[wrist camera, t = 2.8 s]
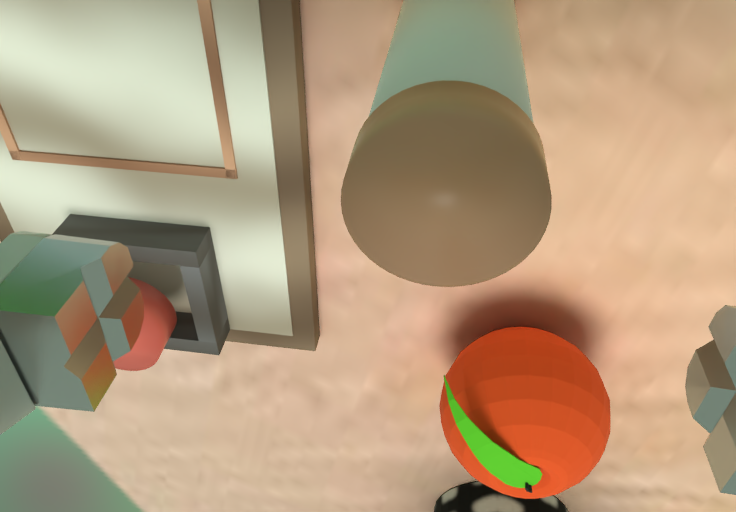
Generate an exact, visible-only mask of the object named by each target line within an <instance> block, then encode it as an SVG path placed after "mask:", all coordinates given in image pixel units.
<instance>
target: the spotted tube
mask: <svg viewBox="0 0 736 512" xmlns="http://www.w3.org/2000/svg"><path fill="white" fill-rule="evenodd" d="M434 512H568V511H567V509H566V507H565V506H564V505H563V504H562V503H561V502H560V501H559V500H558V499H557V498H555V497H554V496H549V497H545V498H537V499H524V498H517V497H513V496H509V495H506V494H502V493H500V492H498V491H496V490H494V489H492V488H490V487H488V486H486V485H484V484H482V483H481V482H475V483H469V484H465V485H461V486H458V487H456V488H453V489H451V490H449V491H447V492H446V493H445V494H443V495H442V496H441V497H440V498H439V499H438V500H437V502H436V505H435V508H434Z"/></svg>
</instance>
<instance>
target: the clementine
mask: <svg viewBox="0 0 736 512" xmlns="http://www.w3.org/2000/svg"><path fill="white" fill-rule="evenodd" d="M440 414H441V423H442V427H443V431H444V435H445V437H446V440H447V442H448V444H449V446H450V449H451V451H452V453H453V454H454V456H455V457H456V458H457V460H458V461H459V462H460V463H461V465H462V466H463V467H464V468H465V469H466V470H467V471H468V472H469V474H470V475H471V476H473V477H474V478H475V479H477V480H478V481H479V482H481V483H482V484H484V485H486V486H488V487H490V488H492V489H494V490H496V491H498V492H500V493H502V494H506V495H509V496H513V497H517V498H524V499H537V498H545V497H549V496H552V495H556V494H558V493H560V492H562V491H564V490H566V489H568V488H570V487H572V486H574V485H576V484H578V483H580V482H581V481H582V480H583V479H584V478H585V477H586V476H587V475H588V474H589V473H590V472H591V471H592V469H593V468H594V467H595V466H596V464H597V463H598V462H599V460H600V458H601V456H602V454H603V452H604V450H605V447H606V444H607V441H608V438H609V434H610V400H609V397H608V394H607V392H606V389H605V387H604V384H603V382H602V379H601V377H600V375H599V373H598V371H597V369H596V368H595V367H594V365H593V364H592V363H591V362H590V361H589V359H588V358H587V357H586V356H585V355H584V354H583V353H582V352H581V351H580V350H579V349H578V348H577V347H576V346H575V345H573V344H571V343H570V342H568V341H566V340H564V339H563V338H561V337H559V336H557V335H555V334H553V333H551V332H548V331H544V330H541V329H538V328H530V327H508V328H503V329H499V330H495V331H492V332H490V333H488V334H486V335H484V336H482V337H480V338H478V339H477V340H475V341H474V342H472V343H471V344H470V345H469V346H467V347H466V348H465V349H464V350H463V351H461V352H460V354H459V355H458V357H457V359H456V360H455V362H454V363H453V365H452V366H451V368H450V370H449V371H448V373H447V374H446V376H445V375H444V385H443V389H442V394H441V400H440Z"/></svg>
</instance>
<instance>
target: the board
mask: <svg viewBox="0 0 736 512" xmlns="http://www.w3.org/2000/svg"><path fill="white" fill-rule="evenodd" d="M19 231H28V232H36V233H45V234H51V235H54V234H57V235H65V236H73V237H80V238H88V239H96V240H104V241H112V242H119V243H121V244H123V245H125V246H126V247H128V250H129V253H130V256H131V259H132V262H133V265H134V266H133V267H132V269H131V271H130V272H129V274H128V275H127V277H131V278H135V279H138V280H141V281H143V282H145V283H147V284H149V285H151V286H153V287H154V288H156V289H157V290H159V291H160V292H161V293H163V294H164V295H165V296H166V297H167V298H168V300H169V301H170V302H171V304H172V305H173V307H174V309H175V311H176V315H177V323H176V326H175V328H174V330H173V332H172V334H171V336H170V338H169V340H168V341H167V343H166V345H165V347H164V349H172V350H180V351H189V352H197V353H206V354H214V355H219V354H220V352H221V350H222V347H223V345H224V343H225V341H231V342H240V343H249V344H257V345H266V346H275V347H284V348H292V349H301V350H310V351H316V347H317V343H318V340H319V336H320V333H319V317H318V300H317V284H316V267H315V251H314V234H313V218H312V201H311V185H310V168H309V152H308V135H307V119H306V102H305V86H304V69H303V53H302V36H301V20H300V3H299V0H0V241H1V242H2V241H3V240H4V239H5V238H6V237H8V236H9V235H10V234H12V233H16V232H19Z"/></svg>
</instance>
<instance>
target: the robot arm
mask: <svg viewBox="0 0 736 512" xmlns="http://www.w3.org/2000/svg"><path fill="white" fill-rule="evenodd" d="M133 266H134V265H133V262H132V259H131V256H130V253H129V250H128V247H126V246H125V245H123V244H121V243H119V242H112V241H104V240H96V239H88V238H80V237H73V236H65V235H57V234H54V235H51V234H45V233H36V232H28V231H19V232H16V233H12V234H10V235H9V236H8V237H6V238H5V239H4V240H3V241H2V242H1V243H0V435H1V434H2V433H3V432H5V431H6V430H7V429H9V428H10V427H11V426H13V425H14V424H16V423H17V422H18V421H20V420H21V419H22V418H24V417H25V416H26V415H28V414H29V413H31V412H32V411H33V410H35V406H44V407H54V408H64V409H73V410H83V411H93V412H94V411H95V409H96V408H97V406H98V404H99V403H100V401H101V399H102V398H103V396H104V395H105V393H106V391H107V390H108V388H109V386H110V385H111V383H112V381H113V380H114V378H115V376H116V375H117V374H116V370H115V365H114V361H115V360H116V359H118V358H120V357H121V356H123V355H125V354H126V353H128V352H130V351H131V350H132V348H133V346H134V344H135V342H136V341H137V339H138V337H139V335H140V331H141V327H142V323H143V319H144V301H143V297H142V293H141V290H140V288H139V287H138V286H137V285H136V284H135V283H134V282H133V281H131V280H130V279H129V278H128V277H127V275H128V274H129V272H130V271H131V269H132V267H133ZM709 329H710V331H711V334H712V336H713V338H714V340H713V341H711V342H709V343H707V344H706V345H704V346H702V347H700V348H699V349H697V350H696V351H695V353H694V355H693V357H692V359H691V361H690V364H689V366H688V369H687V377H686V385H685V388H686V395H687V402H688V405H689V408H690V411H691V414H692V417H693V418H694V419H695V420H696V421H697V422H698V423H699V424H700V425H701V426H702V427H703V428H705V429H706V430H707V431H708V432H709V433H710V435H709V436H708V438H707V440H706V442H705V444H704V446H703V448H704V450H705V453H706V456H707V458H708V461H709V464H710V467H711V469H712V472H713V475H714V477H715V480H716V483H717V486H718V488H719V491H720V492H721V493H727V494H734V495H736V306H728V305H725V306H724V307H723V308H721V309H720V310H719V311H718V312H717V313H716V314H715V316H714V318H713V319H712V321H711V323H710V325H709Z"/></svg>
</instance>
